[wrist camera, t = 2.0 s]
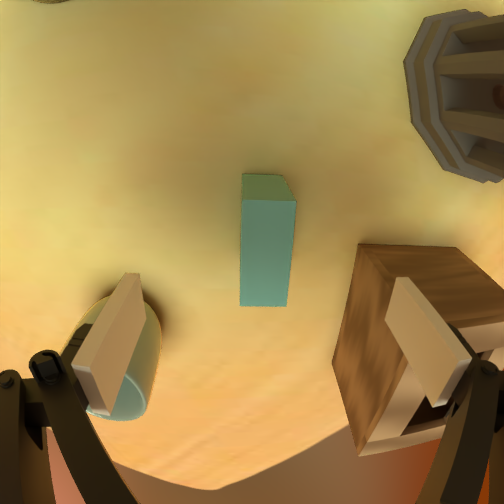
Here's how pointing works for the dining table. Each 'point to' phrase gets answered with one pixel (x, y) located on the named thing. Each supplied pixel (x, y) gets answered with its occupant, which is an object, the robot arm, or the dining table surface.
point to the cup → (132, 366)
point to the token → (266, 240)
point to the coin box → (388, 350)
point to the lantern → (460, 91)
